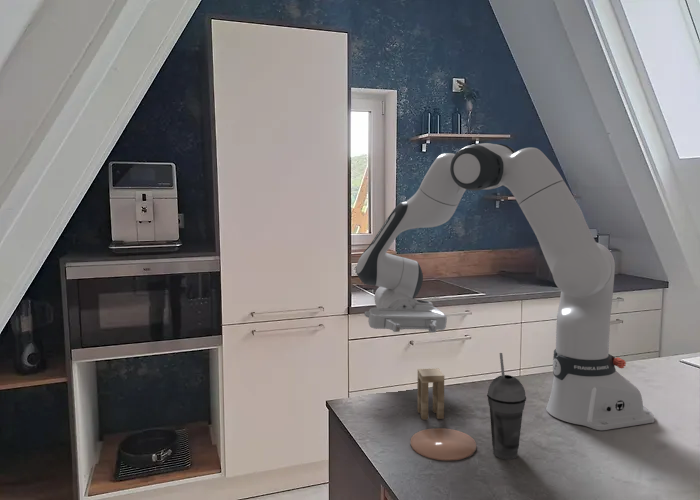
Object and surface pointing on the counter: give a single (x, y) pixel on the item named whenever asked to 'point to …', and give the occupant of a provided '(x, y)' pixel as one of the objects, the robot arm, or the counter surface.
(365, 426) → the counter surface
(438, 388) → the stool
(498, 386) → the beverage cup
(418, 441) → the coaster
